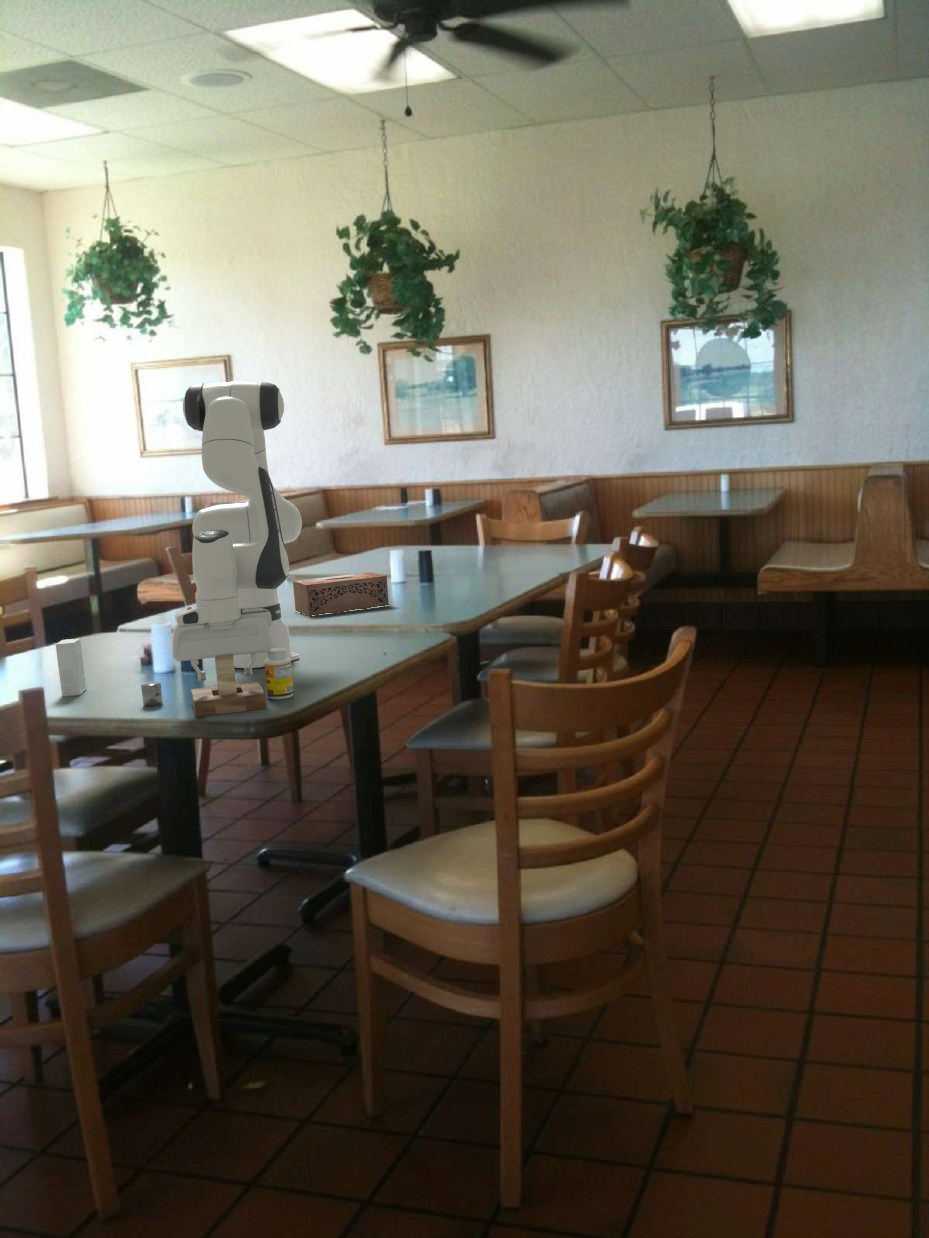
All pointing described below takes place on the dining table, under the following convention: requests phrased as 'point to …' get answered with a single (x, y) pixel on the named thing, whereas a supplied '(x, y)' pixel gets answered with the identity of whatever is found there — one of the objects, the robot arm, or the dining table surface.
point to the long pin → (225, 674)
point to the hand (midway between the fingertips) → (225, 677)
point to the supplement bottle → (278, 674)
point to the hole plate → (228, 699)
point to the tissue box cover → (340, 593)
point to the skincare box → (71, 667)
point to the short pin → (152, 694)
